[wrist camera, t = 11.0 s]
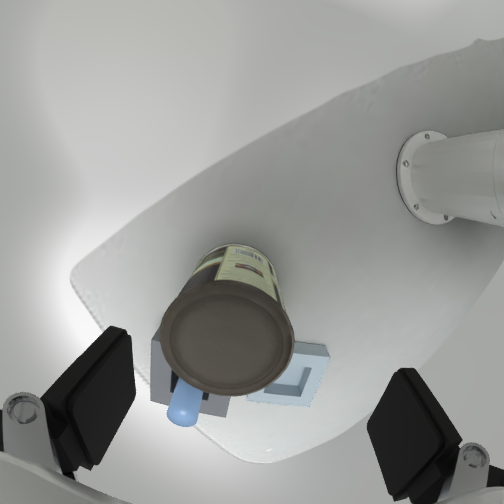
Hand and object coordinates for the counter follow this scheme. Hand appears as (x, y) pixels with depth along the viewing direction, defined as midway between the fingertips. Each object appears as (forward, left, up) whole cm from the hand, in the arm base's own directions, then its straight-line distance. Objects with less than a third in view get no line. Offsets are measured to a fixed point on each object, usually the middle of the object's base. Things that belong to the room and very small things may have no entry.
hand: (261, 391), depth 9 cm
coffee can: (+1, +5, -25) cm, 25 cm away
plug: (+4, +16, -25) cm, 30 cm away
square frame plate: (-8, +16, -25) cm, 30 cm away
